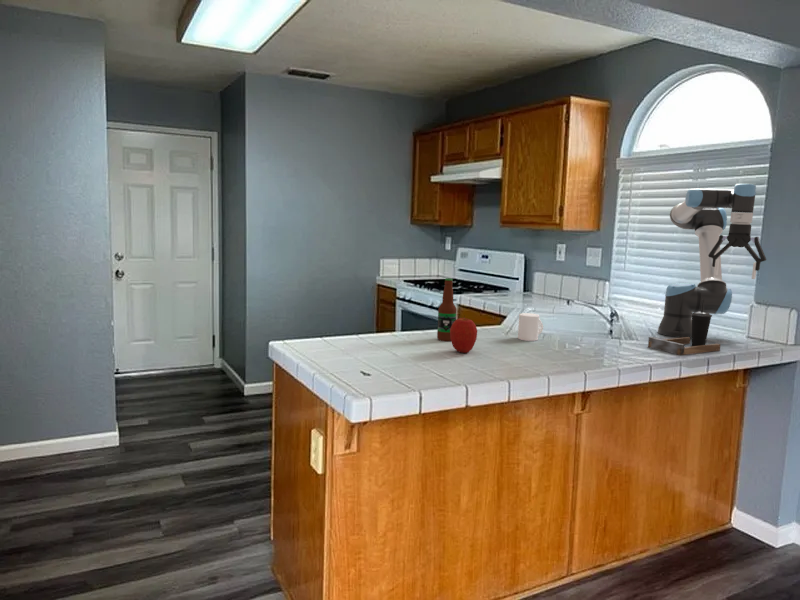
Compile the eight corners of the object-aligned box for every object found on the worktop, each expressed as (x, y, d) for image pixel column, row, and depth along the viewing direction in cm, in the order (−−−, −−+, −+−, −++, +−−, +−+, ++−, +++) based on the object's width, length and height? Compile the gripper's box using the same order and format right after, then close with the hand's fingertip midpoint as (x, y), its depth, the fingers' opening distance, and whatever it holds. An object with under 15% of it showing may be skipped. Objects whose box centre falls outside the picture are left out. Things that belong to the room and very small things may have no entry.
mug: (515, 313, 250) (536, 312, 256) (513, 337, 251) (534, 335, 257) (529, 316, 243) (550, 315, 249) (527, 341, 244) (548, 339, 250)
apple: (443, 350, 223) (445, 313, 221) (465, 348, 228) (467, 312, 226) (459, 356, 215) (461, 318, 213) (481, 353, 220) (484, 316, 218)
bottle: (435, 340, 240) (437, 279, 237) (439, 337, 247) (442, 277, 244) (452, 342, 238) (455, 280, 234) (456, 338, 245) (459, 278, 241)
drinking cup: (697, 349, 241) (702, 300, 238) (683, 345, 248) (688, 297, 245) (712, 348, 243) (718, 300, 240) (698, 344, 250) (704, 297, 247)
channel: (647, 346, 242) (648, 337, 241) (686, 342, 253) (687, 333, 253) (680, 355, 229) (681, 345, 228) (719, 350, 240) (720, 340, 239)
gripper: (703, 222, 241) (698, 274, 244) (775, 225, 224) (767, 281, 228) (709, 222, 246) (703, 273, 250) (779, 225, 230) (772, 279, 233)
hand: (734, 277), depth 239 cm, fingers open, 13 cm apart
